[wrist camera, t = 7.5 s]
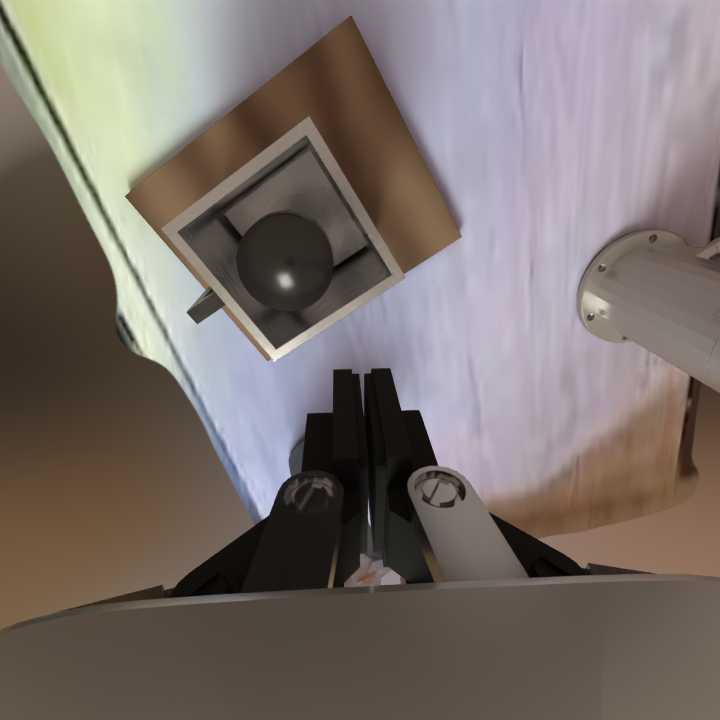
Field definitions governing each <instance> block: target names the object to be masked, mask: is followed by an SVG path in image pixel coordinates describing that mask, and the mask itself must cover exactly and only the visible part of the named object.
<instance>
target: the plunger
mask: <svg viewBox="0 0 720 720" xmlns="http://www.w3.org/2000/svg"><path fill="white" fill-rule="evenodd" d="M224 214H225V215H226V216H227V218H228V219H229V220H230V222H231V223H232V224H233V225H234V227H235V228H236V229H237V231H238V232H239V233H240V235H241V236H242V239H241V241H240V243H239V246H238V249H237V255H236V264H237V271H238V275H239V277H240V280H241V282H242V284H243V286H244V287H245V289H246V290H247V292H248V293H249V294H250V295H251V296H252V297H253V298H254V299H256V300H257V301H258V302H260V303H261V304H263V305H265V306H267V307H269V308H272V309H275V310H279V311H297V310H301V309H304V308H307V307H309V306H311V305H312V304H314V303H315V302H317V301H318V300H319V299H320V298H321V297H322V296H323V295H324V294H325V292H326V291H327V289H328V287H329V285H330V283H331V280H332V277H333V270H334V266H336V265H337V264H339V263H340V262H342V261H343V260H345V259H346V258H348V257H349V256H351V255H352V254H354V253H355V252H357V251H358V250H360V249H361V248H363V247H364V246H366V245H367V244H368V243H367V241H366V239H365V238H364V236H363V235H362V233H361V231H360V230H359V228H358V226H357V225H356V223H355V222H354V220H353V218H352V217H351V215H350V214H349V212H348V210H347V209H346V207H345V205H344V204H343V202H342V201H341V199H340V197H339V196H338V194H337V192H336V191H335V189H334V188H333V186H332V184H331V183H330V181H329V180H328V178H327V176H326V175H325V173H324V171H323V170H322V168H321V167H320V165H319V163H318V162H317V160H316V159H315V157H314V155H313V154H312V152H311V150H309V151H308V152H306V153H305V154H304V155H302V156H301V157H300V158H298V159H297V160H296V161H294V162H293V163H292V164H290V165H289V166H287V167H286V168H285V169H283V170H282V171H281V172H279V173H278V174H277V175H275V176H274V177H273V178H271V179H270V180H269V181H267V182H266V183H265V184H263V185H262V186H261V187H259V188H258V189H257V190H255V191H254V192H252V193H251V194H250V195H248V196H247V197H246V198H244V199H243V200H242V201H240V202H239V203H238V204H236V205H235V206H234V207H232V208H231V209H230V210H228V211H227V212H226V213H224Z"/></svg>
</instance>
